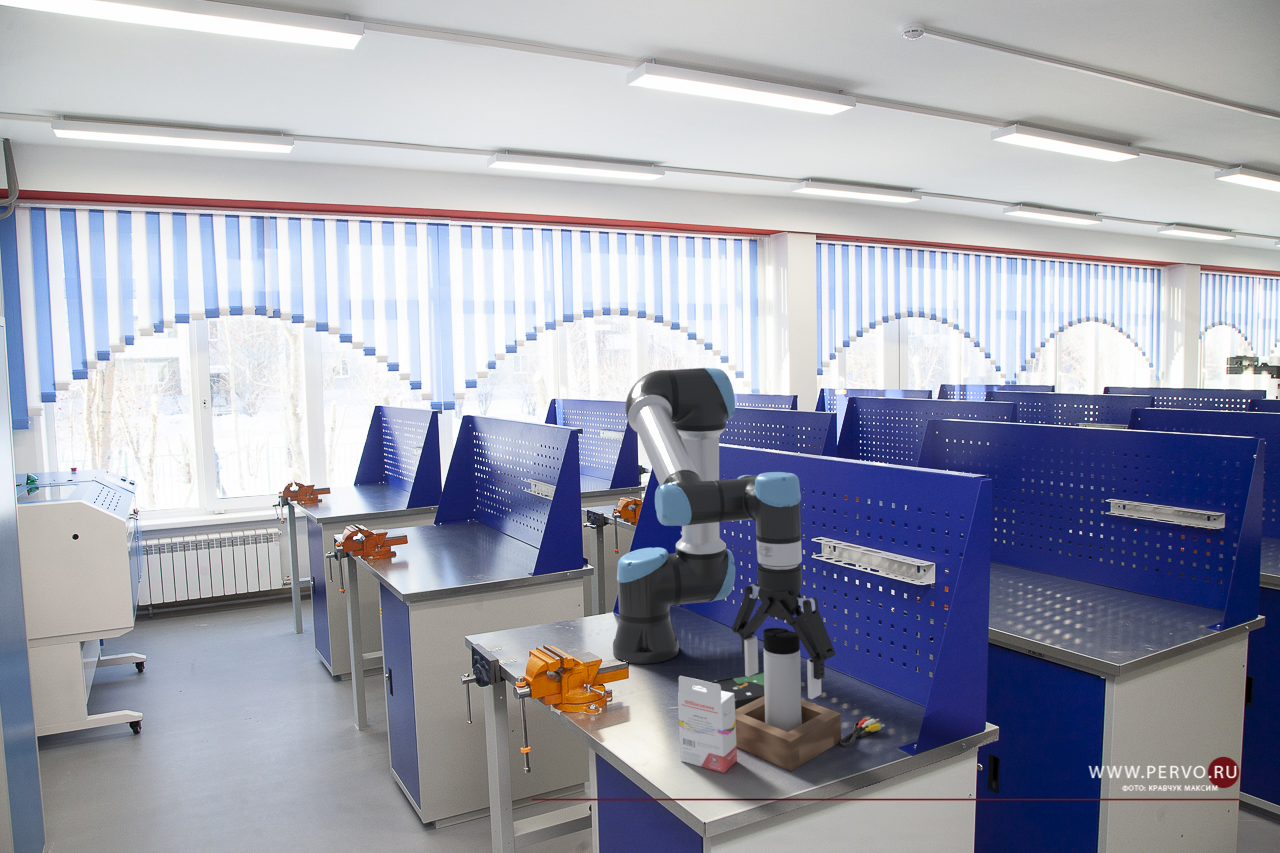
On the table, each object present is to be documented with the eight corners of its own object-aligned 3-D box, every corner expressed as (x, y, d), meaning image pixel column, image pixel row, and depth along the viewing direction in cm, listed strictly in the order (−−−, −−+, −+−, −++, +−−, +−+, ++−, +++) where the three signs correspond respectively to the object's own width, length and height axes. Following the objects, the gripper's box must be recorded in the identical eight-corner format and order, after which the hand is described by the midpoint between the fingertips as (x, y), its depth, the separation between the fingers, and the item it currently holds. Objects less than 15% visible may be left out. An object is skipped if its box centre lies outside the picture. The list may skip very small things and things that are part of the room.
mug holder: (726, 742, 137) (725, 714, 137) (777, 715, 147) (776, 690, 146) (791, 771, 127) (790, 741, 127) (841, 741, 136) (840, 713, 136)
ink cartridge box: (738, 760, 131) (736, 675, 130) (724, 774, 127) (721, 686, 126) (693, 748, 136) (690, 665, 135) (678, 761, 132) (675, 675, 130)
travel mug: (756, 741, 137) (754, 629, 136) (781, 729, 141) (778, 620, 140) (785, 754, 132) (782, 638, 131) (809, 741, 137) (807, 629, 135)
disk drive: (722, 717, 148) (792, 703, 153) (722, 703, 148) (792, 689, 153) (701, 695, 158) (767, 682, 163) (700, 682, 158) (767, 669, 163)
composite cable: (847, 751, 133) (847, 736, 133) (826, 740, 137) (826, 726, 137) (886, 734, 139) (886, 720, 139) (864, 724, 143) (864, 710, 143)
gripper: (710, 556, 141) (714, 671, 143) (827, 582, 122) (830, 714, 124) (738, 548, 146) (741, 659, 148) (855, 572, 127) (857, 699, 129)
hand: (782, 684), depth 136 cm, fingers open, 13 cm apart
